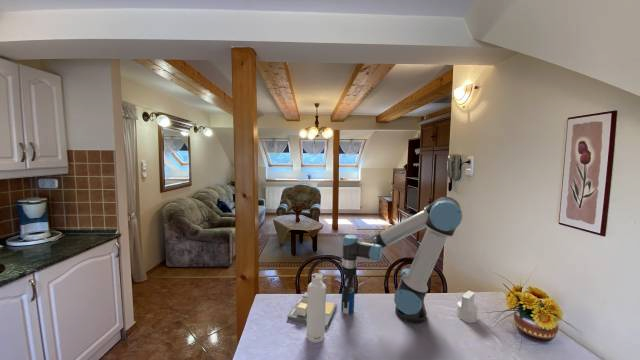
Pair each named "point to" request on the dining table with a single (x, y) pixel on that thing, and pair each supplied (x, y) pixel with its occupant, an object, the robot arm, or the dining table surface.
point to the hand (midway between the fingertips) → (347, 308)
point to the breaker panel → (294, 317)
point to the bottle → (316, 309)
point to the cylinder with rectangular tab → (467, 308)
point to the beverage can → (351, 301)
